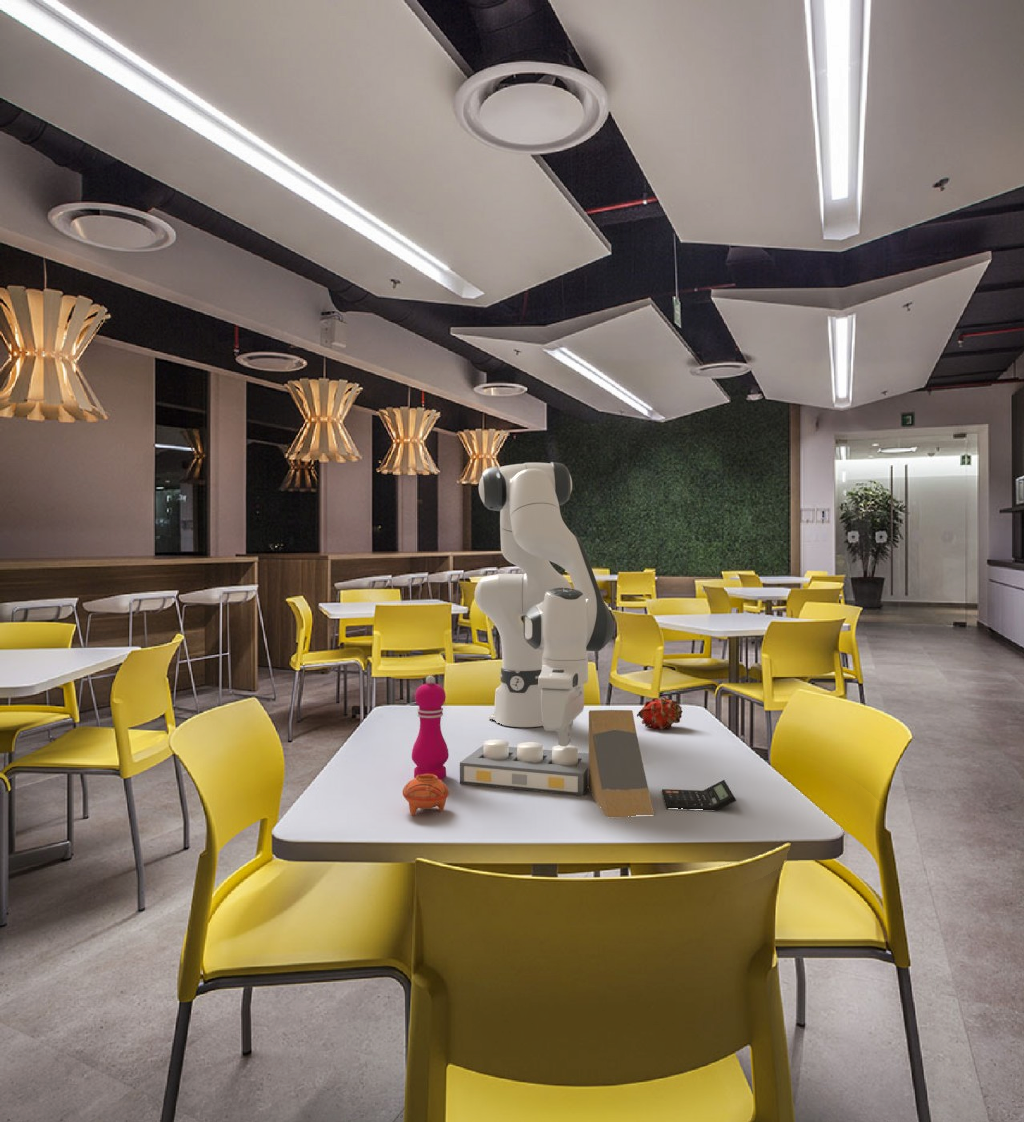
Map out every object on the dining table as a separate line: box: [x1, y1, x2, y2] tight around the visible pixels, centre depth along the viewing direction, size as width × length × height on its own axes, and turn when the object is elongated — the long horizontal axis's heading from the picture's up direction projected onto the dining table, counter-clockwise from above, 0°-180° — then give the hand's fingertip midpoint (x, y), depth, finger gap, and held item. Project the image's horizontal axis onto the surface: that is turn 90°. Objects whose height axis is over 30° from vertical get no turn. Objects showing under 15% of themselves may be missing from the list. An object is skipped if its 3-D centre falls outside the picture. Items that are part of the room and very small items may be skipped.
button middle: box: [516, 741, 544, 763], centre depth 143 cm, size 5×5×4 cm
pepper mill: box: [411, 675, 449, 781], centre depth 143 cm, size 7×7×20 cm
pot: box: [402, 774, 450, 817], centre depth 124 cm, size 8×8×7 cm
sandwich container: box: [588, 709, 655, 819], centre depth 129 cm, size 9×15×15 cm, turn 6°
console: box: [459, 744, 589, 796], centre depth 142 cm, size 14×24×4 cm, turn 73°
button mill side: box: [483, 739, 510, 760], centre depth 145 cm, size 5×5×4 cm
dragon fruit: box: [636, 696, 683, 731], centre depth 186 cm, size 8×8×12 cm
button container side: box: [551, 744, 579, 766], centre depth 141 cm, size 5×5×4 cm
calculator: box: [661, 779, 737, 811], centre depth 130 cm, size 9×12×3 cm
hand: (564, 744), depth 141 cm, fingers closed
